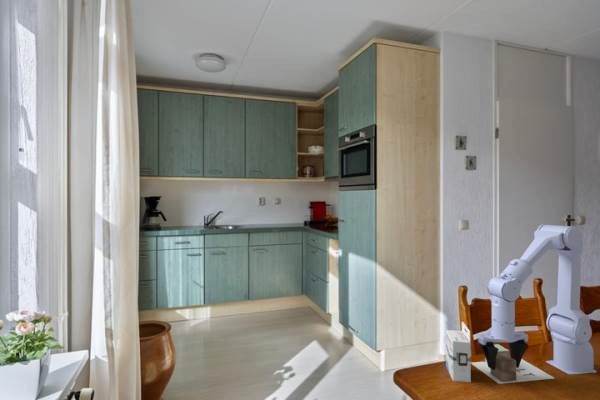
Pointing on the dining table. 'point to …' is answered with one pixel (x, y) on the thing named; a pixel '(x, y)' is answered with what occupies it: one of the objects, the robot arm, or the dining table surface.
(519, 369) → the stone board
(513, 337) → the robot arm
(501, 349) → the sage block
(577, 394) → the dining table surface
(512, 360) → the walnut block
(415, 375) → the dining table surface
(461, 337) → the ink box
